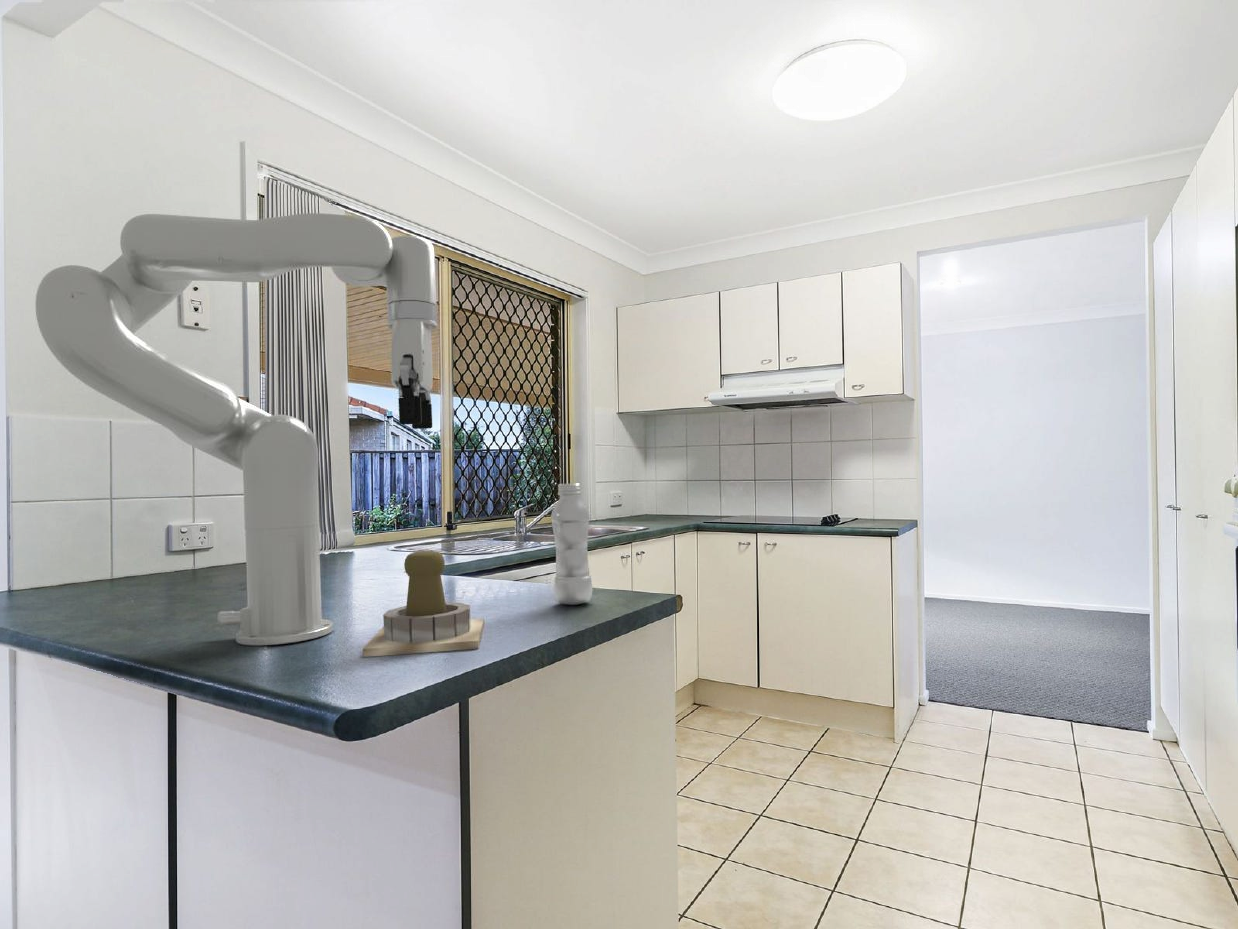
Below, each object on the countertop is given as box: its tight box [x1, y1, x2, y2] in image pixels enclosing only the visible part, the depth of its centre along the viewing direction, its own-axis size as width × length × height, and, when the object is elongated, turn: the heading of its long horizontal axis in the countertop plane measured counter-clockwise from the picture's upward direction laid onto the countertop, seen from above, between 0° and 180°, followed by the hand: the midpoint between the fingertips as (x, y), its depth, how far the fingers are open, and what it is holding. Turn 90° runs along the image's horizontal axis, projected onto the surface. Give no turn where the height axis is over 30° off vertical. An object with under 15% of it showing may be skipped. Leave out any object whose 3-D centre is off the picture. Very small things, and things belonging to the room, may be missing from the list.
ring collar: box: [362, 601, 485, 658], centre depth 94 cm, size 14×14×4 cm
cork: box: [403, 550, 447, 616], centre depth 93 cm, size 6×6×11 cm
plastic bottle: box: [550, 483, 594, 606], centre depth 116 cm, size 6×7×20 cm
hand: (416, 426), depth 110 cm, fingers open, 9 cm apart
